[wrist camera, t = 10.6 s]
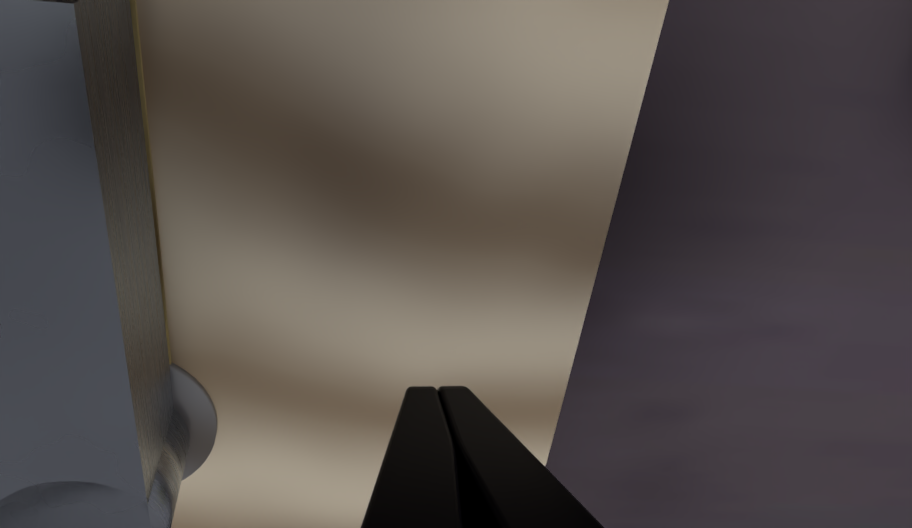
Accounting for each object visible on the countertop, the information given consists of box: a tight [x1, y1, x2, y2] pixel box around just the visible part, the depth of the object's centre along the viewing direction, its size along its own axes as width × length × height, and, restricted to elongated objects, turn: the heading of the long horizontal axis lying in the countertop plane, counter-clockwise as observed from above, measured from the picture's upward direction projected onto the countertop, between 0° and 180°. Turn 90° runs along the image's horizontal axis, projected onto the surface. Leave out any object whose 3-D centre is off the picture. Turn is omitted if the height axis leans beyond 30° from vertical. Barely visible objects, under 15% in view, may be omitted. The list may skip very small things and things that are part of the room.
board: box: [130, 0, 669, 528], centre depth 17 cm, size 24×22×4 cm
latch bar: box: [0, 0, 190, 528], centre depth 13 cm, size 13×4×3 cm, turn 173°
